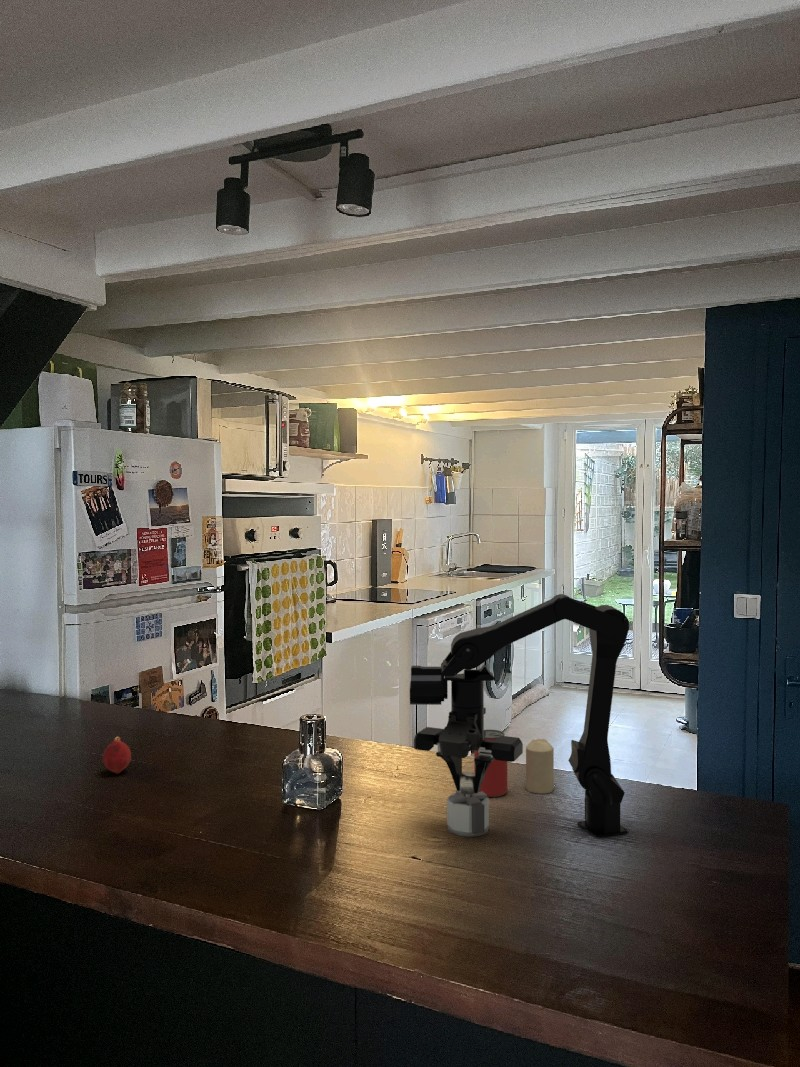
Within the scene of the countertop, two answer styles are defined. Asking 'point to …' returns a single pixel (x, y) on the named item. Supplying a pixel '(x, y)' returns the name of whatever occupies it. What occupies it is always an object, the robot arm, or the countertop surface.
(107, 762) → the onion
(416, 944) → the countertop surface
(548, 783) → the candle
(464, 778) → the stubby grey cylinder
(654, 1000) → the countertop surface
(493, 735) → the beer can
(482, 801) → the grey faceted drum
